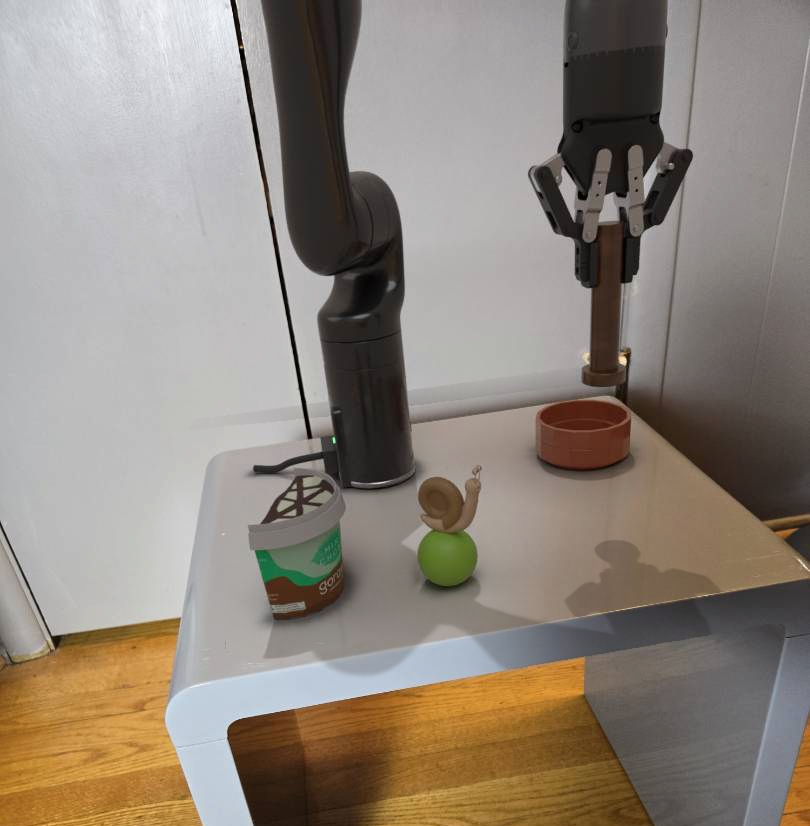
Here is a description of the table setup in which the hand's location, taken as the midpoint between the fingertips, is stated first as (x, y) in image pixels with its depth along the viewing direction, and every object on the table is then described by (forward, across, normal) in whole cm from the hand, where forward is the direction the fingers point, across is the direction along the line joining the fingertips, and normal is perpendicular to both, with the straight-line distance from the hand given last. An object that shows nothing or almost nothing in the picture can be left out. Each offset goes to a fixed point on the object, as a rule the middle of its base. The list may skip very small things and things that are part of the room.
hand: (605, 283), depth 64 cm
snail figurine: (+23, +17, +7) cm, 30 cm away
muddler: (+9, 0, 0) cm, 9 cm away
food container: (+23, +29, +5) cm, 37 cm away
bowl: (+23, -4, -16) cm, 29 cm away
